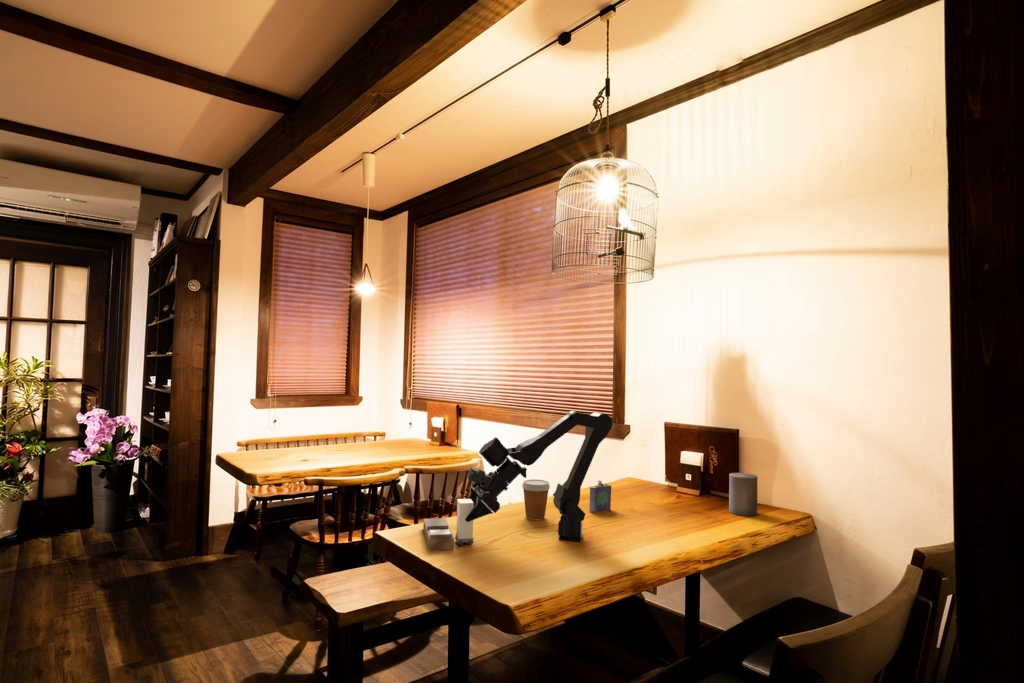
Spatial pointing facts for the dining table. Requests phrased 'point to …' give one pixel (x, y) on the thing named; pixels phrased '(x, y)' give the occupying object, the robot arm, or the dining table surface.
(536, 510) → the disposable coffee cup
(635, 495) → the dining table surface
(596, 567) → the dining table surface
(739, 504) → the pillar candle
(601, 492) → the flask
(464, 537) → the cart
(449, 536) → the dock
